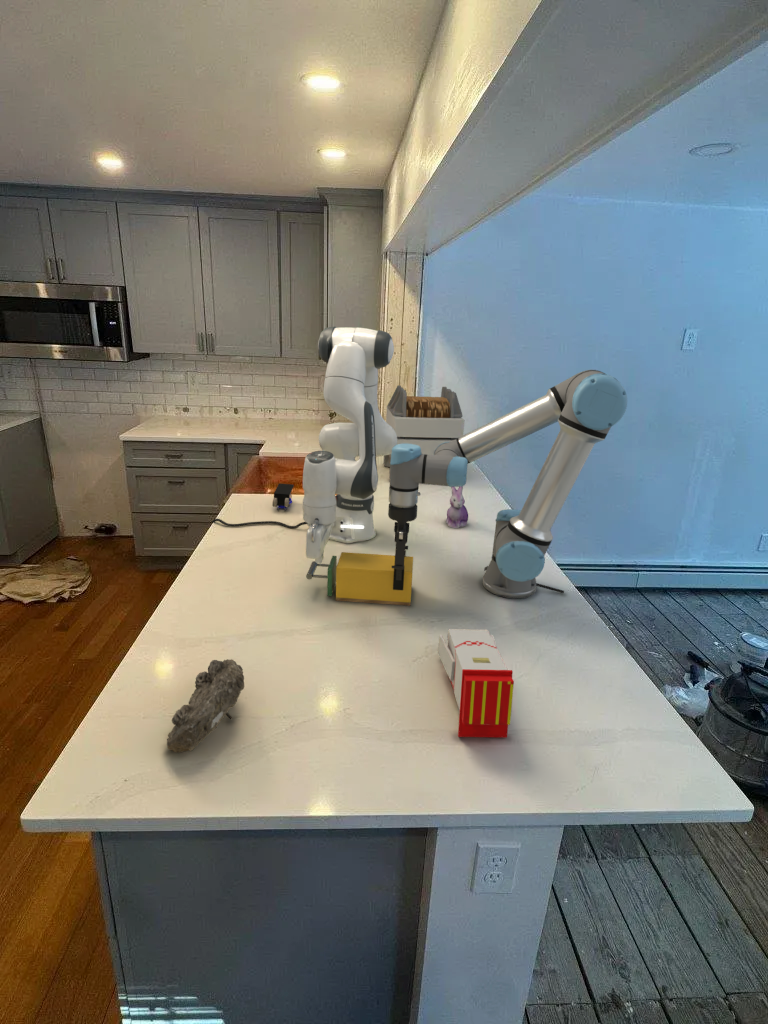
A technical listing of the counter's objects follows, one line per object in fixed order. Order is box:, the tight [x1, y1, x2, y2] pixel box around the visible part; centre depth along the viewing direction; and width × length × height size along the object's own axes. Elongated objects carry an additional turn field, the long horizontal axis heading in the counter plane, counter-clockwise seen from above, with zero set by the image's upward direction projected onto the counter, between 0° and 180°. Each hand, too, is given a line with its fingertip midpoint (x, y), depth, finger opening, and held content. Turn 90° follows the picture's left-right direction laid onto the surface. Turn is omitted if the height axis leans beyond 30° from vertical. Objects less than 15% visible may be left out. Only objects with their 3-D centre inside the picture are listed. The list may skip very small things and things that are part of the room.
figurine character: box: [272, 483, 295, 512], centre depth 220 cm, size 7×8×15 cm
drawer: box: [305, 555, 338, 597], centre depth 156 cm, size 25×9×8 cm, turn 86°
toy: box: [437, 628, 515, 738], centre depth 117 cm, size 12×13×30 cm
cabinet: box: [335, 551, 414, 607], centre depth 155 cm, size 20×10×10 cm, turn 86°
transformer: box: [383, 384, 465, 479], centre depth 268 cm, size 34×33×41 cm
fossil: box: [166, 658, 245, 754], centre depth 106 cm, size 22×10×15 cm
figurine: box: [445, 486, 469, 529], centre depth 209 cm, size 9×10×15 cm
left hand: (319, 561), depth 154 cm, fingers closed
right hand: (398, 580), depth 155 cm, fingers closed on cabinet, 10 cm apart
